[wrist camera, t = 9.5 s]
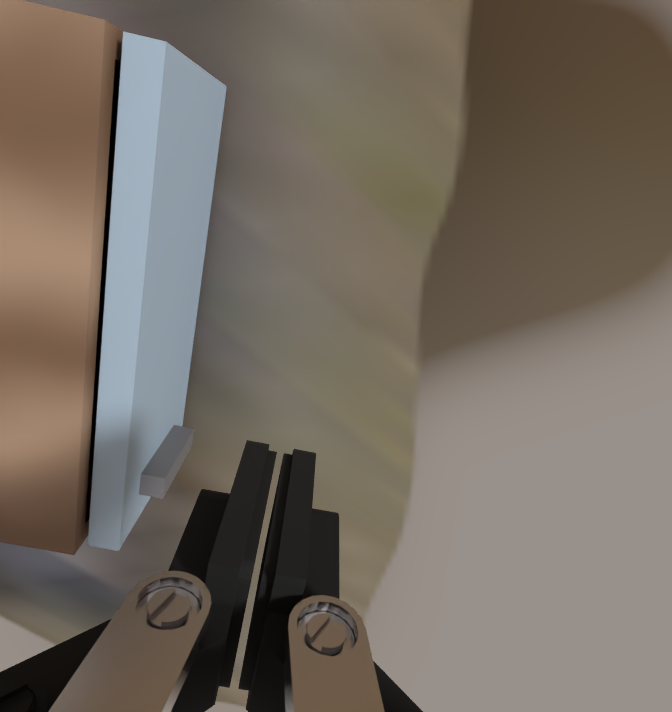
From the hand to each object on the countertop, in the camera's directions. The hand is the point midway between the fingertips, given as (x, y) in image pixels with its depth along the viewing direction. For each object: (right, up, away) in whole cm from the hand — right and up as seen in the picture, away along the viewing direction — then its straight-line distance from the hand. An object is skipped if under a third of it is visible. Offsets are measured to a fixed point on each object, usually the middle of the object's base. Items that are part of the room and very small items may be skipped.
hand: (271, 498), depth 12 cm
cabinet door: (-5, +7, +13) cm, 15 cm away
